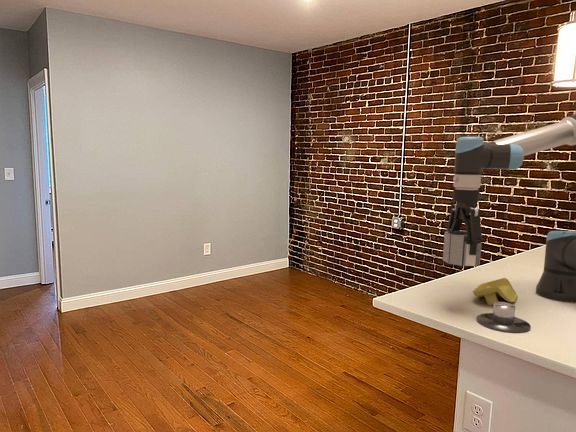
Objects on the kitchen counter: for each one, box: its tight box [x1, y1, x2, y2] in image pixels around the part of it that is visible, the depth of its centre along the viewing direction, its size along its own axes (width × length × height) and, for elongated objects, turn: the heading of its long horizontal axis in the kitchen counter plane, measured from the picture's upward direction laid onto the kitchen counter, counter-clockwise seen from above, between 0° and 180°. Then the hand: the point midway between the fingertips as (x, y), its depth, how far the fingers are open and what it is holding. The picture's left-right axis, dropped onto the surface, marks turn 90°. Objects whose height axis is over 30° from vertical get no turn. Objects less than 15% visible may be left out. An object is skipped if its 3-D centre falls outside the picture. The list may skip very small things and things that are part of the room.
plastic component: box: [472, 277, 518, 306], centre depth 146 cm, size 20×7×10 cm
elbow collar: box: [442, 229, 483, 267], centre depth 134 cm, size 10×10×9 cm
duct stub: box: [475, 301, 532, 334], centre depth 125 cm, size 14×14×6 cm
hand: (461, 261), depth 134 cm, fingers closed on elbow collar, 10 cm apart
